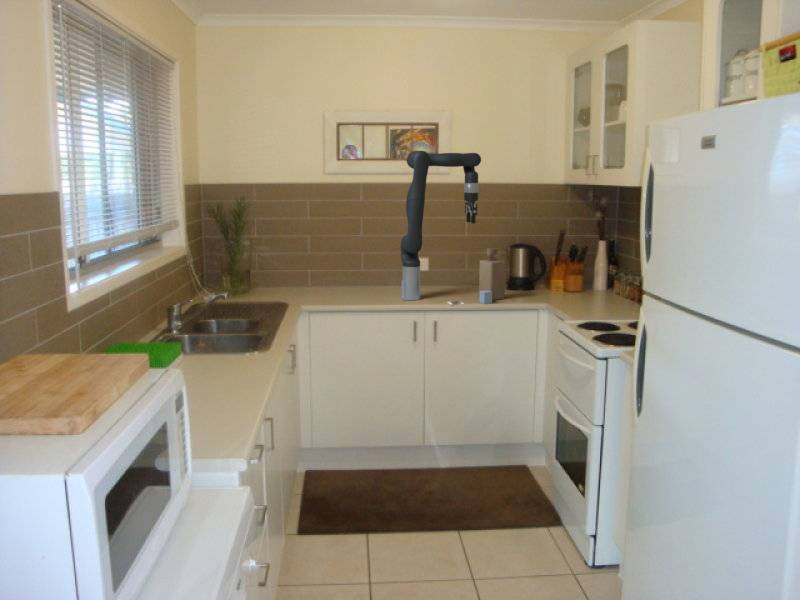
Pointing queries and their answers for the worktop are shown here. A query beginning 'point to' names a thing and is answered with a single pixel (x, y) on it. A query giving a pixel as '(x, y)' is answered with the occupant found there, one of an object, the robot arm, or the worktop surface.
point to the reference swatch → (455, 303)
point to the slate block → (485, 297)
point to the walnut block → (492, 254)
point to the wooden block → (492, 278)
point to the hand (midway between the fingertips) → (470, 222)
